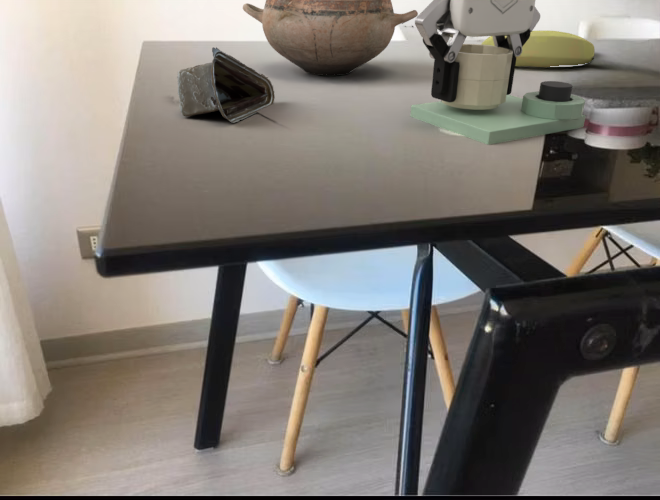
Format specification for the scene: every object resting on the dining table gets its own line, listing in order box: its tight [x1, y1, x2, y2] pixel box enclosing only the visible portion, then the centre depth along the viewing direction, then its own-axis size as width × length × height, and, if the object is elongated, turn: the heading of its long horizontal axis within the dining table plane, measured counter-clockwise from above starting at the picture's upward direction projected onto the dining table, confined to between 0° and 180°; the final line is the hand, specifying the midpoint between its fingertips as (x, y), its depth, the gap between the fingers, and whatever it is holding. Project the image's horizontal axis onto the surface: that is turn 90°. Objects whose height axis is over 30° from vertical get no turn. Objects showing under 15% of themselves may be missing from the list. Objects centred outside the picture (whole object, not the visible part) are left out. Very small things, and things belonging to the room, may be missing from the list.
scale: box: [409, 91, 587, 146], centre depth 67 cm, size 15×12×3 cm
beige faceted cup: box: [440, 43, 513, 110], centre depth 67 cm, size 7×7×6 cm
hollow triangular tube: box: [177, 46, 276, 123], centre depth 69 cm, size 10×7×12 cm
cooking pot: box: [242, 0, 419, 77], centre depth 90 cm, size 25×19×12 cm
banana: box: [480, 30, 595, 68], centre depth 102 cm, size 14×6×20 cm
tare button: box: [538, 80, 573, 102], centre depth 66 cm, size 3×3×2 cm
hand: (471, 94), depth 68 cm, fingers closed on beige faceted cup, 7 cm apart
